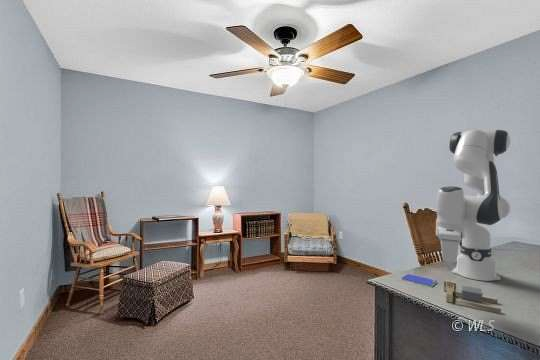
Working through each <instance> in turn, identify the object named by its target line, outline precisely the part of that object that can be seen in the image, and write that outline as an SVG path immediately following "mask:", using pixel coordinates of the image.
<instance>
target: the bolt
mask: <svg viewBox="0 0 540 360" xmlns="http://www.w3.org/2000/svg"><path fill="white" fill-rule="evenodd" d="M445 299H446V300H445V301H446V303H452V304H453V303H454V302H453V299H454V285H452V284H446V295H445Z"/></svg>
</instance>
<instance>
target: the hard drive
mask: <svg viewBox="0 0 540 360" xmlns="http://www.w3.org/2000/svg"><path fill="white" fill-rule="evenodd" d="M401 280H402V281H405V282H409V283H414V284H417V285H422V286H425V287H428V288H429V287H430V288H432V287H434V285H436V284H437V283H438V281H437V280H436V279H431V278H427V277H422V276H418V275H415V274H411V273H407V274H406V275H404V276H402V277H401Z"/></svg>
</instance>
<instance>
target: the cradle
mask: <svg viewBox="0 0 540 360" xmlns="http://www.w3.org/2000/svg"><path fill="white" fill-rule="evenodd" d="M447 284H452V285H453V294H455V297H459V298H455V305H459V306H463V307H468V308H473V309H477V310H483V311H486V312H487V311H488V312H490V313H491V312H492V313H495V314H502V309H501V307H500V306H495V304H496V305H498V304H499V303H498V301H499V300H498V298H495V297H491V296H486V295H482V302H485V303H489V304H494V305H489V304H485V303H482V304H481V303H476V302H471V301H466V300H462V291H461V290H457V281H453V280H447V279H444V280H443V292H447Z"/></svg>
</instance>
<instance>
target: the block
mask: <svg viewBox="0 0 540 360" xmlns="http://www.w3.org/2000/svg"><path fill="white" fill-rule="evenodd" d="M461 292H462V297H461V300H466V301H471V302H476V303H481V304H483V301H482V296H483V291H482V289H481V288H479V287H472V286H469V285H468V286H466V285H461Z"/></svg>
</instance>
